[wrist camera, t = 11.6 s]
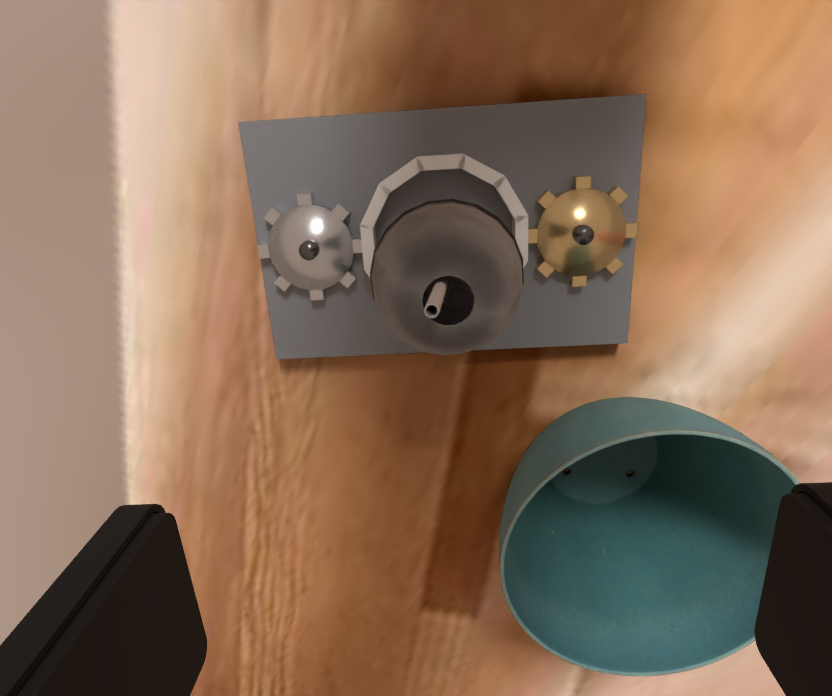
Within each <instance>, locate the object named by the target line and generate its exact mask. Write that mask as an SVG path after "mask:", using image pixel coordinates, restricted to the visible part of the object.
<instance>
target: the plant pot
mask: <svg viewBox="0 0 832 696" xmlns="http://www.w3.org/2000/svg"><path fill="white" fill-rule="evenodd" d="M567 468H568V469H570V472H569V473H568V474H564V473H563V470H564V469H567ZM630 470H632V471H633V475H632V476H627V475H626V472H627V471H630ZM797 484H800V482H799V481H798V479H797V478H796V477H795V476H794V475H793V474H792V473H791V472H790V471H789V470H788V469H787V468H786V467H785V466H784V465H783V464H782V463H781V462H780V461H779V460H778V459H776V458H775V457H774V456H773V455H772V454H770V453H769V452H768V451H767V450H765V449H764V448H763V447H761V446H760V445H758V444H757V443H755V442H754V441H753V440H751V439H750V438H748V437H747V436H745V435H744V434H742V433H740V432H739V431H737V430H735V429H733V428H732V427H730V426H728V425H726V424H724V423H722V422H720V421H718V420H716V419H714V418H712V417H710V416H707V415H705V414H703V413H700V412H698V411H695V410H692V409H690V408H687V407H684V406H681V405H677V404H673V403H669V402H665V401H660V400H654V399H647V398H634V397H623V398H610V399H603V400H599V401H595V402H591V403H587V404H585V405H582V406H579V407H577V408H575V409H573V410H571V411H569V412H567V413H565V414H564V415H562V416H560V417H559V418H558V419H556V420H555V421H553V422H552V423H551V424H550V425H549V426H547V427H546V428H545V429H544V430H543V431H542V432H541V433H540V434H539V435H538V436H537V437H536V439H535V440H534V441H533V442H532V444H531V445H530V446H529V448H528V449H527V451H526V452H525V454H524V455H523V457H522V459H521V461H520V463H519V465H518V467H517V469H516V471H515V473H514V475H513V478H512V480H511V483H510V486H509V489H508V492H507V496H506V499H505V504H504V509H503V513H502V520H501V528H500V540H499V565H500V578H501V584H502V589H503V593H504V596H505V599H506V602H507V604H508V606H509V608H510V611H511V613H512V615H513V616H514V617H515V619H516V620H517V622H518V623H519V625H520V626H521V627H522V629H523V630H524V631H525V632H526V633H527V634H528V635H529V636H530V637H531V638H532V639H533V640H534V641H535V642H537V643H538V644H539V645H540V646H542V647H543V648H544V649H546V650H547V651H549V652H550V653H552V654H554V655H555V656H557V657H559V658H561V659H563V660H565V661H567V662H569V663H571V664H574V665H577V666H580V667H582V668H585V669H589V670H593V671H597V672H601V673H606V674H614V675H622V676H657V675H667V674H674V673H679V672H684V671H689V670H693V669H697V668H700V667H703V666H706V665H709V664H711V663H714V662H717V661H719V660H721V659H724V658H726V657H728V656H730V655H732V654H734V653H736V652H738V651H740V650H741V649H743V648H745V647H747V646H748V645H750V644H751V643H753V642H754V641H756V640H755V633H754V630H755V623H756V618H757V613H758V608H759V603H760V598H761V593H762V588H763V583H764V579H765V574H766V569H767V564H768V559H769V554H770V549H771V544H772V539H773V534H774V529H775V524H776V519H777V514H778V509H779V504H780V501H781V498H782V497H783V496H784V495H786V494H790V493H791V490H792V488H793V487H794V486H795V485H797Z"/></svg>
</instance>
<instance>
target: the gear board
mask: <svg viewBox="0 0 832 696" xmlns="http://www.w3.org/2000/svg"><path fill="white" fill-rule="evenodd" d="M645 103H646V94H637V95H623V96H609V97H594V98H580V99H565V100H551V101H537V102H522V103H508V104H493V105H479V106H465V107H450V108H436V109H421V110H407V111H393V112H378V113H364V114H349V115H335V116H321V117H306V118H292V119H278V120H263V121H249V122H238V124H239V130H240V136H241V142H242V148H243V154H244V161H245V167H246V173H247V179H248V185H249V191H250V198H251V204H252V210H253V216H254V222H255V228H256V235H257V241H258V244H260V243H266V242H268V240H269V235H270V231H271V229H272V227H273V225H271V224H270V223H269V222H268V221H267V220H265V219H264V217H265V216H266V214H267V213H268V212H269V211H270V209H271V208H272V207H274V206H276V207H277V208H278V209H279V210H281V211H282V212H283V213H284V212H286V211H288V210H289V209H291V208H294V207H296V206H298V202H297V194H299V193H312V192H313V196H314V204H317V205H322V206H325V207H327V208H330V209H331V210H333V209H334V208H335V207H336V206H337V204H338V203H340V202H341V203H342V204H343V205H344V206H345V207H347V208H348V209H349V210H350V211H351V212H350V213H349V214H348V216H347V217H346V218H345V219H344V221H345V222H346V223H347V225H348V226H349V228H350V230H351V233H352V235H353V238H354V237H361V242H362V253H354V258H353V261H352V264H351V266H350V268H349V269H350V270H351V271H352V272H354V273H355V274H356V275H357V278H356V279H355V280H354V281H353V283H352V284H351V285H350V286H349V287H348V288H347V287H345V286H344V285H343V284H342V283H341V282H337V283H336V284H334V285H332V286H331V287H328V288H325V293H326V297H325V299H324V300H311V299H310V291H309V290H307V289H302V288H299V287H297V286H294V285H292V284H291V285H290V286H289V287H288V289H287V290H286V291H285V292H284V291H283V290H282V289H281V288H279V287H278V286H277V285H276V284H274V282H275V281H276V280H277V278H278V277H279V276H280V274H279V273H278V272H277V270H276V269H275V267H274V265H273V263H272V261H271V258H260V259H261V265H262V271H263V278H264V284H265V290H266V296H267V302H268V308H269V315H270V321H271V327H272V333H273V339H274V345H275V352H276V358H277V359H296V358H318V357H339V356H361V355H383V354H404V353H426V352H424V351H420V350H418V349H416V348H415V347H413V346H411V345H409V344H407V343H406V342H404V341H402V340H401V339H400V338H399V337H398V336H397V335H396V334H395V333H394V332H393V331H392V330H391V329H390V328H389V327H388V326H387V325H386V323H385V321H384V319H383V317H382V315H381V313H380V311H379V309H378V307H377V305H376V303H375V300H374V298H373V294H372V286H371V279H370V269H371V264H372V259H373V253H374V249H375V247H376V246H377V244H378V242H379V240H380V238H381V237H382V235H383V233H384V231H385V229H386V228H387V227H388V226H389V225H390V224H391V223H393V222H394V221H395V220H396V219H397V218H398V217H399V216H400V215H401V214H402V213H403V212H405V211H407V210H409V209H411V208H414V207H416V206H418V205H420V204H422V203H425V202H427V201H435V200H445V199H456V200H461V201H465V202H470V203H474V204H478V205H479V206H481V207H483V208H484V209H486V210H488V211H489V212H491V213H493V214H494V215H496V216H497V217H499V218H500V219H501V221H502V222H503V223H504V224H505V225H506V227H507V228H508V229H509V230H510V231H511V233H512V234H513V235H514V236H515V239H516V242H517V244H518V247H519V249H520V252H521V255H522V257H523V271H524V284H523V288H522V292H521V295H520V298H519V302H518V305H517V309H516V312H515V314H514V315H513V317H512V318H511V320H510V321H509V323H508V324H507V326H506V327H505V329H504V330H503V331H502V332H501V333H500V334H499V335H497V336H496V337H495V338H494V339H492V340H491V341H490V342H489V343H487V344H486V345H485V346H482V347H480V348H477V349H475V350H491V349H512V348H534V347H556V346H577V345H599V344H621V343H627V342H628V329H629V315H630V302H631V289H632V276H633V262H634V249H635V238H625V239H624V243H623V245H622V248H621V249H620V251H619V253H618V254H617V256H616V257H617V258H618V259H619V260H620V261H621V262H622V263H623V265H622V266H621V267H620V268H619V269H618V270H617V271H616V272H615V273H614V274H612V273H611V272H609V271H608V270H607V269H606V268H605V267H604V268H603V269H601V270H600V271H598V272H595V273H593V274H590V275H586V276H587V279H586V286H579V287H572V286H571V285H570V275H566V274H562V273H560V272H558V271H556V270H555V269H554V271H553V272H552V273H551V274H550V275H549V276H548V277H547V278H546V277H545V276H544V275H543V274H542V273H541V272H540V271H539V270H538V269H537V268H536V267H535V266H536V265H537V264H538V263H539V262H540V261H541V260H542V259H543V257H542V256H541V254H540V252H539V250H538V247H537V244H536V243H528V227H536V225H537V221H538V218H539V216H540V214H541V212H542V210H543V209H544V208H543V207H542V206H541V205H540V204H539V203H538V202H537V201H536V200H537V199H538V198H539V196H540V195H541V194H542V193H543V192H544V191H545V190H548V191H549V192H550V193H551V194H552V195H553V196H554V197H555V196H557V195H558V194H560V193H562V192H564V191H566V190H569V189H572V188H573V177H574V176H585V175H589V176H591V188H593V189H597V190H600V191H602V192H604V193H606V194H607V193H608V192H609V190H610V189H611V188H612V187H613V186H614V185H616V186H619V187H620V188H621V189H622V190H623V191H624V192H625V194H626V195H627V196H628V197H627V198H626V199H625V200H624V201H623V202H622V203H621V204H620V205H619V206H620V208H621V209H622V211H623V214H624V217H625V222H631V221H634V222H636V223H637V209H638V196H639V183H640V169H641V156H642V143H643V130H644V116H645Z"/></svg>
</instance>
